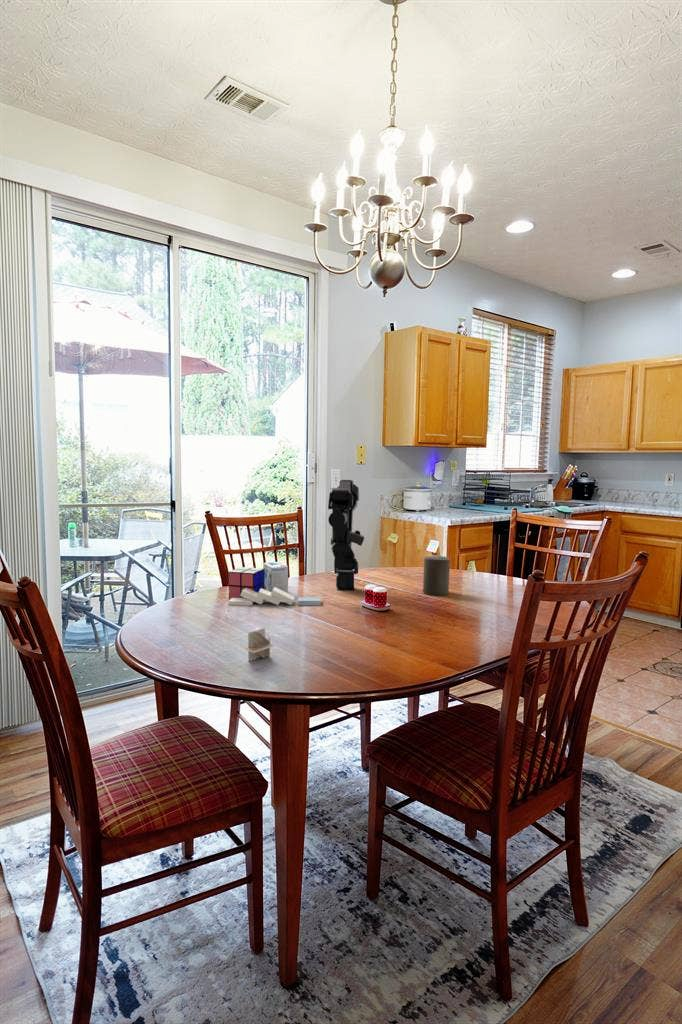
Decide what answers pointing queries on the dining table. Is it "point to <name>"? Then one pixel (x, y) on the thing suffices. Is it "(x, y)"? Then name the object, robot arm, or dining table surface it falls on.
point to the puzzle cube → (245, 580)
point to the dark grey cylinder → (436, 575)
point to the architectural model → (258, 644)
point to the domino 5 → (309, 600)
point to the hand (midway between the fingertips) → (340, 568)
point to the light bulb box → (276, 576)
